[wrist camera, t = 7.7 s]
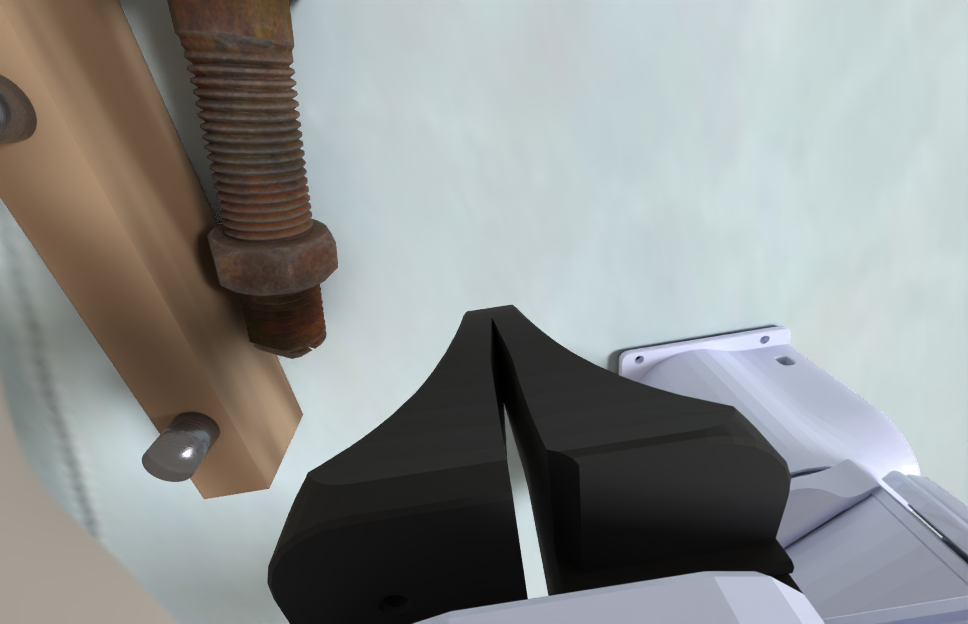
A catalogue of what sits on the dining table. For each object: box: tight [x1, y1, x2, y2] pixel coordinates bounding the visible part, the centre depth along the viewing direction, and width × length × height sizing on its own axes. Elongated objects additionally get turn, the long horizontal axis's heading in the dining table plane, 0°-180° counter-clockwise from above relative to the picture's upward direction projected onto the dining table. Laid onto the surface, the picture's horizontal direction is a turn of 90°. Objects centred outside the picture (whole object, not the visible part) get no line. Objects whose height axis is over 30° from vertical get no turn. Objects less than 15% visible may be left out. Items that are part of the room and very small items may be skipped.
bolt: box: [167, 0, 338, 359], centre depth 16 cm, size 6×5×15 cm
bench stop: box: [0, 0, 303, 499], centre depth 16 cm, size 3×20×7 cm, turn 8°
